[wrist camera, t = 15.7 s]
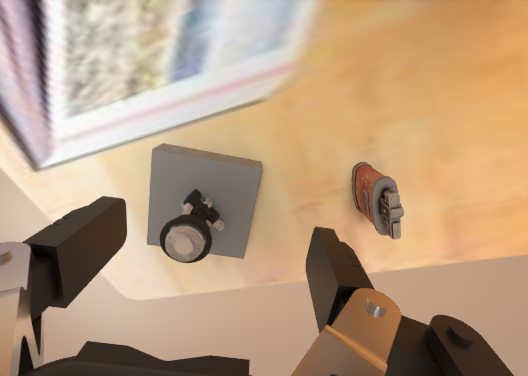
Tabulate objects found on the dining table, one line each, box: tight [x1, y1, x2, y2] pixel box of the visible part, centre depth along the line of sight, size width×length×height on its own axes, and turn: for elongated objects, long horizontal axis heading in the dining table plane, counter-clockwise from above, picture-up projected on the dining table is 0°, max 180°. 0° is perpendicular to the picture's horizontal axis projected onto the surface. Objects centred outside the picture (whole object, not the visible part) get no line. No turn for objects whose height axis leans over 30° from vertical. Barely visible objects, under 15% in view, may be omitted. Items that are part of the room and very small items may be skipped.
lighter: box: [352, 162, 404, 239], centre depth 35 cm, size 8×3×10 cm, turn 13°
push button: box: [160, 189, 225, 263], centre depth 31 cm, size 7×5×10 cm
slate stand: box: [147, 143, 262, 259], centre depth 37 cm, size 14×14×4 cm
